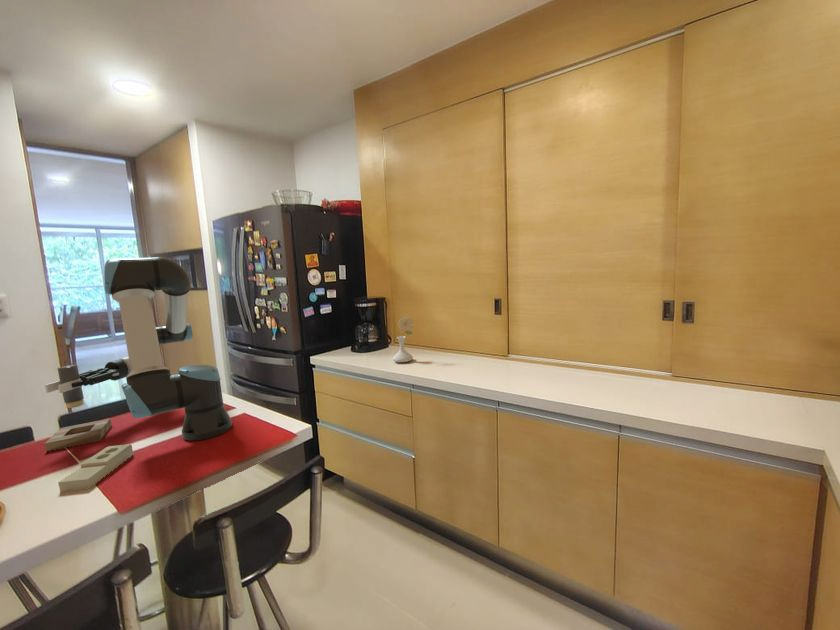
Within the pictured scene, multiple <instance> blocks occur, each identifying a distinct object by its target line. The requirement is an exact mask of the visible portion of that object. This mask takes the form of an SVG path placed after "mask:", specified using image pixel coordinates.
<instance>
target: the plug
mask: <svg viewBox="0 0 840 630" xmlns="http://www.w3.org/2000/svg"><path fill="white" fill-rule="evenodd" d="M57 372H58V373H57V374H58V378H59V381H60V383H61V384H63V383H67V382H70V381H73V380H77V379H80V376H79V374H80V373H79V367H78V364H70V365H65V366H59V367H57ZM62 397H63V402H64V404H65V406H66V408H67V409H74V408H77V407H81V406H83V405H84V398H85V397H84V394H83V386H82V387H79V388H75V389H72V390H69V391H66V392H62Z"/></svg>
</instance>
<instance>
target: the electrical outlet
mask: <svg viewBox="0 0 840 630" xmlns="http://www.w3.org/2000/svg"><path fill="white" fill-rule="evenodd" d="M132 455H133V456H134V451H133V446H132V444H130V443H129V444H119V445H108V446H106V447H104V448H103V449H101V450H100V451H98V452H97V453H95V454H94V455H92V456H91V457H89V458H88V459H87V460H85V461H84V462H82V463H81V464H80V467H79V468H78V469H75V470H74V471H73V472H71V473H70V474H69V475H67V476H65V477H64V478H62V479H61V480H60V481H58V487H59V492H60V493H61V492H62V493H63V492H71V491H81V489H82V490H89V489H91V488H92V487H94V486H95V485H96V484H98V483H99V482H101V479H102V478H103V477H104V478H106V477H107V476H108V475H109V474H111V473H112V472H113V471H115V470H116V469H117V468H119V467H120V466H121V465H122V464H124V463H125V462H126V461H128V460H129V459H130V458H132V457H133V456H132ZM131 456H132V457H131ZM128 458H129V459H128ZM127 459H128V460H127ZM124 461H125V462H124ZM123 462H124V463H123ZM120 464H121V465H120ZM119 465H120V466H119ZM118 466H119V467H118ZM115 468H116V469H115ZM114 469H115V470H114ZM111 471H112V472H111ZM110 472H111V473H110ZM107 474H108V475H107ZM106 475H107V476H106ZM105 476H106V477H105ZM104 478H103V479H104ZM103 479H102V480H103ZM98 481H99V482H98ZM97 482H98V483H97ZM93 485H94V486H93Z"/></svg>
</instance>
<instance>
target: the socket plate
mask: <svg viewBox="0 0 840 630" xmlns="http://www.w3.org/2000/svg"><path fill="white" fill-rule="evenodd" d="M111 427H112V421H111V418H105V419H101V420H94V421H91V422H85V423H80V424H73V425H70V426H69V425H68V426H64V427H61V428H60V429H58V430H57V431H56V432H55V433H54V434H53V435H52V436H51V437H50V438H49V439H48V440H47V441H45V442H44V446H45V452H46V451H49V452H52V451H51V450H54V451H57V450H56V449H58V450H61V449H62V448H63V449H66V448H65V447H68V448H71V447H70V446H72V447H76V445H77V446H81V444H82V445H86V443H87V444H90V443H96V442H100V441H102V439H103V438H104V437H105V436H106V434H107V433H108V432H109V430H110V429H111Z"/></svg>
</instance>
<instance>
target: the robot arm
mask: <svg viewBox="0 0 840 630" xmlns="http://www.w3.org/2000/svg"><path fill="white" fill-rule="evenodd" d="M103 278H104V279H103V280H104V291H105V294H107V295H109V296H111V298H112V300H114V302H117V303H118V304H119V305H118V306H119V308H120V309H119V310H120V316H121V322H122V327H123V333H124V338H125V344H126V351H127V356H125V357H122V358H119V359H115V360H111V361H108V362H106V363H105V365H104V367H101V368H97V369H95V370H93V369H90V370H87V371H84V372H81V373H79V376H80V379H77V380H73V381H70V382H67V383H63V384H61V383H60V380H57V381H54V382H50V383H46V384H44V387H45V392H46V393H52V392H55V391H58V393H59V394H61V393H62V392H66V391H69V390H72V389H75V388H79V387H82V388H83V387H86V386H93V385H97V384H100V383H103V382H107V381H109V380H110V381H113V382H115V381H118V380H122V379H126V382H124V383H123V384H121V388H122V391H123V394H124V398H125V400H126V402H127V407H128V408H129V411H130V414H131V416H132V417H133V418H134V419H142V418H143V419H144V418H146V417H153V416H156V415H159V414H164V413H168V412H171V411H176V410H180V409H184V413H185V414H184V419H183V424H182V428H181V434H182V439H183V440H185V441H191V442H192V441H203V440H207V439H211V438H214V437H217V436H219V435H222V434H224V433H226V432H227V431H229V430H230V429H231V428H232V426H233V424H232V423H233V422H232V418H231V416H230V414H229V413H228V410H227V409H226V407H225V405H224V400H223V392H222V385H221V377H220V372H219V369H218V368H217V367H216V366H214V365H209V364H208V365H207V364H199V365H197V364H196V365H194V364H193V365H187V366H183V367H179V368H178V371H177V373H173V374H172V373H171V370H170V368H169V367H166V366H164V363H163V356H162V352H161V347H160V345H165V344H173V343H180V342H185V341H190V340H192V339H193V336H194V335H193V329H192V325H191V323H190V322H189V323H188V293H189V292H190V291H191V287H192V280H191V278H190V276H189V274H188V272H187V271H186V269H185V268H184V267H183V266H182V265H181V264H179V263H178V262H176V261H174V260H173V259H170V258H167V257H163V256H155V257H149V256H148V257H121V258H111V259H108V260H106V261H105V264H104V276H103ZM155 291H156V292H157V291H162V293H163V295H164V297H163V301H164V316H165V325H164V326H163V325H162V326H156V322H155V321H156V320H155V316H154V310H153V305H152V299H153V298H154V297H155V295H156V293H155ZM62 394H63V393H62Z"/></svg>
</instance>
